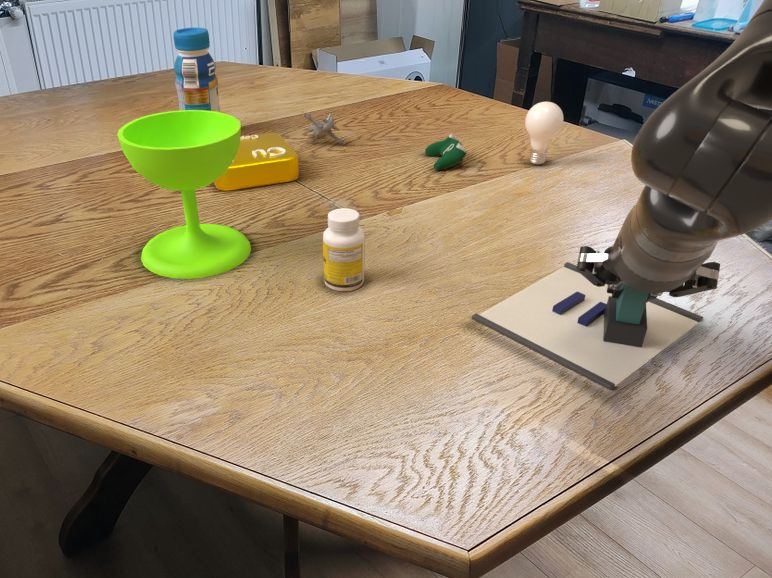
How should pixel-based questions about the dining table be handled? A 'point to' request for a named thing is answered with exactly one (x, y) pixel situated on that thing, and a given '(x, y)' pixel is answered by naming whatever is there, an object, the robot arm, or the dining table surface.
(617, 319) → the eraser
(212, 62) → the beverage bottle
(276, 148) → the element tile
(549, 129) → the lightbulb
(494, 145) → the dining table surface
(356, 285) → the supplement bottle
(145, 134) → the wineglass
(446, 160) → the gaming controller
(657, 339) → the whiteboard
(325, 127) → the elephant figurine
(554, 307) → the bar
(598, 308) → the bar
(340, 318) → the dining table surface
